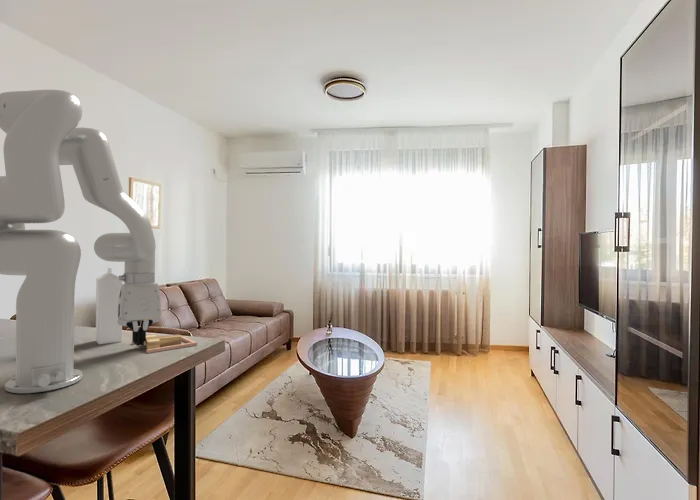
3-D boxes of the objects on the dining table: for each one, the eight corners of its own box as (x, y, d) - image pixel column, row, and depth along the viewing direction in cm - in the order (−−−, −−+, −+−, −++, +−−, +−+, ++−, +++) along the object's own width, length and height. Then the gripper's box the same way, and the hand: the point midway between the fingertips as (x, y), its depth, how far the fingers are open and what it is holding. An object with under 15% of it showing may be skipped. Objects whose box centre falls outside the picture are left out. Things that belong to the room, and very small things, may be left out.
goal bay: (197, 345, 115) (197, 342, 115) (147, 353, 105) (147, 350, 105) (178, 337, 125) (178, 334, 125) (131, 343, 115) (131, 341, 115)
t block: (183, 347, 112) (183, 338, 112) (147, 351, 108) (147, 342, 108) (177, 340, 120) (177, 332, 120) (144, 344, 115) (144, 335, 115)
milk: (98, 344, 114) (98, 268, 114) (95, 340, 119) (95, 267, 119) (122, 341, 118) (122, 268, 118) (118, 337, 123) (119, 267, 122)
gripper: (113, 281, 102) (112, 351, 102) (172, 278, 113) (171, 342, 113) (105, 279, 108) (104, 346, 108) (162, 277, 118) (162, 338, 118)
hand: (139, 344), depth 110 cm, fingers closed
